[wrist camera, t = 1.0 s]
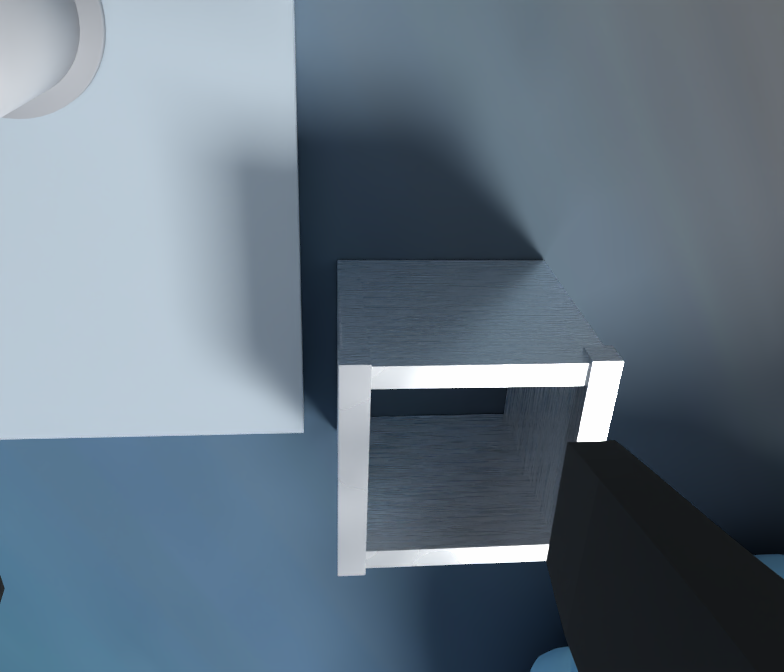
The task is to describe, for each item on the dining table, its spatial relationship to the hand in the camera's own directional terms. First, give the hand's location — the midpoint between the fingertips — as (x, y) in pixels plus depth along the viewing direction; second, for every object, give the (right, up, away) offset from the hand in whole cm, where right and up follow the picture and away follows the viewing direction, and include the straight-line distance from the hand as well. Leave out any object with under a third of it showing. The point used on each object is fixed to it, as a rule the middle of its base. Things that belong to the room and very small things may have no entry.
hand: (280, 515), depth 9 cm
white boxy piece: (+3, +2, +10) cm, 11 cm away
